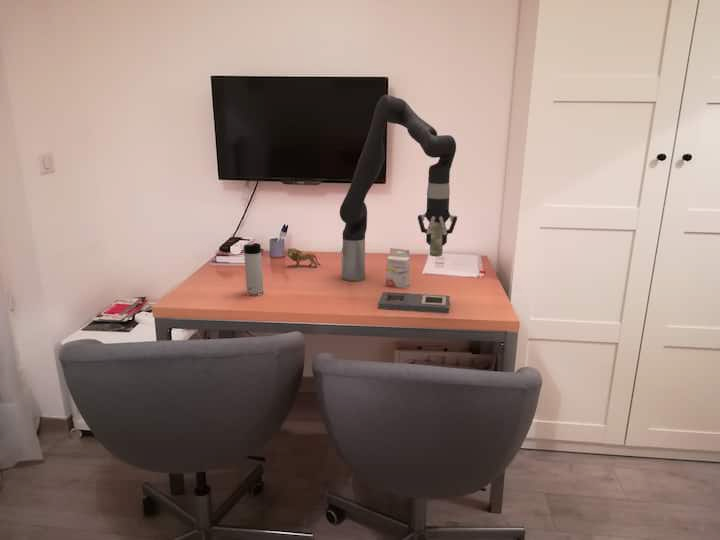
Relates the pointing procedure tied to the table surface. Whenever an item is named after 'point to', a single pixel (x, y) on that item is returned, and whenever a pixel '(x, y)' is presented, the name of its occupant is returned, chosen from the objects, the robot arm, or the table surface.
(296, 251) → the lion figurine
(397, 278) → the ink cartridge box
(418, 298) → the grey flat plate
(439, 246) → the peg
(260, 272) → the travel mug
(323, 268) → the table surface
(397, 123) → the robot arm
